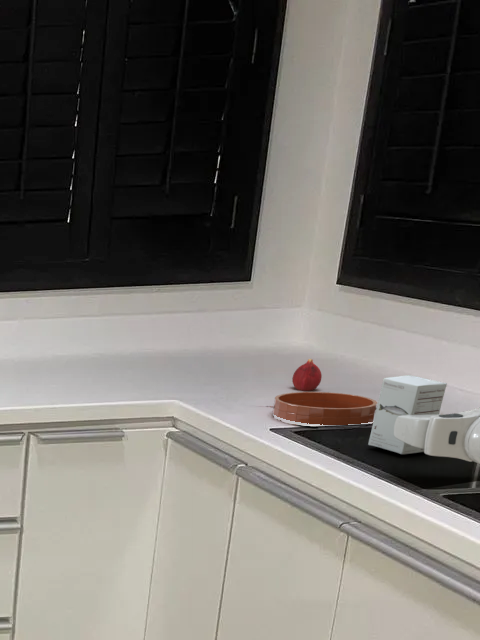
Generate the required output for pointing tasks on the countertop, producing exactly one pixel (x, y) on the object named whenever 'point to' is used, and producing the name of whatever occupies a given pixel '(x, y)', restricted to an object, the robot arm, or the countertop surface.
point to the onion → (307, 376)
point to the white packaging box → (403, 408)
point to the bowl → (325, 408)
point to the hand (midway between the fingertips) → (436, 418)
